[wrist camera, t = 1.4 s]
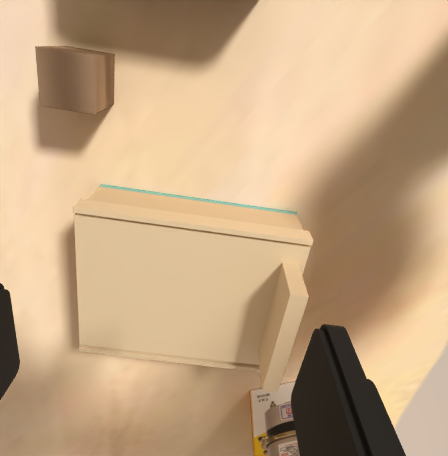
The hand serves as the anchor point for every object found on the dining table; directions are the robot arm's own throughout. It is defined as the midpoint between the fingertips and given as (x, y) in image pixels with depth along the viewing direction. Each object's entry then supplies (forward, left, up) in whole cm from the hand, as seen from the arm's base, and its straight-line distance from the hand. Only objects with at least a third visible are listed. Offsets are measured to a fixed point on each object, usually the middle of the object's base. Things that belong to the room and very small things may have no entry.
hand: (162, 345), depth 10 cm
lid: (0, +16, -24) cm, 29 cm away
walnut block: (+12, -3, -30) cm, 32 cm away
